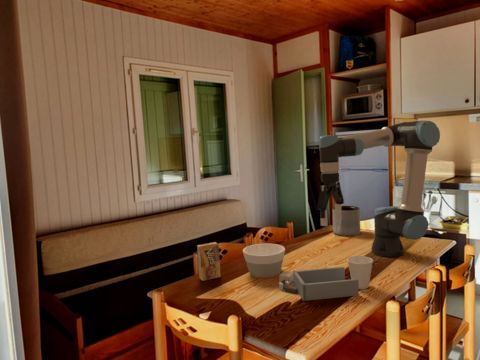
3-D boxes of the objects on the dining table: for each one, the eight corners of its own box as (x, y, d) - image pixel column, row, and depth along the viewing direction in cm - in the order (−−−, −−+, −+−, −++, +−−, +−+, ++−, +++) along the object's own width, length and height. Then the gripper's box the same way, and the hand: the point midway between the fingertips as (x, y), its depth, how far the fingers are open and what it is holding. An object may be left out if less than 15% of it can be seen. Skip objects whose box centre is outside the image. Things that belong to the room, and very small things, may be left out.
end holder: (343, 280, 160) (343, 266, 160) (358, 295, 145) (358, 279, 144) (293, 285, 158) (293, 271, 158) (303, 300, 143) (302, 285, 142)
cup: (375, 292, 147) (375, 264, 146) (348, 291, 149) (347, 263, 148) (372, 282, 157) (371, 255, 156) (346, 281, 159) (346, 255, 158)
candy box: (217, 274, 176) (215, 241, 174) (221, 277, 172) (218, 243, 171) (199, 278, 172) (196, 245, 171) (202, 281, 169) (199, 247, 167)
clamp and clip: (292, 278, 166) (291, 270, 166) (298, 288, 155) (298, 280, 154) (274, 279, 166) (274, 272, 165) (280, 290, 154) (279, 282, 154)
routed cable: (290, 281, 163) (290, 277, 163) (298, 293, 150) (298, 289, 150) (278, 282, 162) (277, 279, 162) (284, 294, 150) (284, 291, 149)
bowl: (274, 282, 162) (273, 257, 161) (235, 276, 173) (234, 252, 171) (293, 268, 179) (292, 245, 177) (257, 263, 189) (255, 241, 188)
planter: (333, 236, 228) (333, 210, 226) (332, 230, 244) (331, 205, 242) (362, 236, 225) (361, 210, 224) (358, 229, 241) (357, 205, 239)
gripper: (334, 169, 173) (336, 215, 176) (306, 175, 154) (309, 227, 157) (350, 169, 169) (352, 217, 171) (324, 176, 150) (326, 229, 152)
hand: (331, 222), depth 164 cm, fingers open, 13 cm apart
